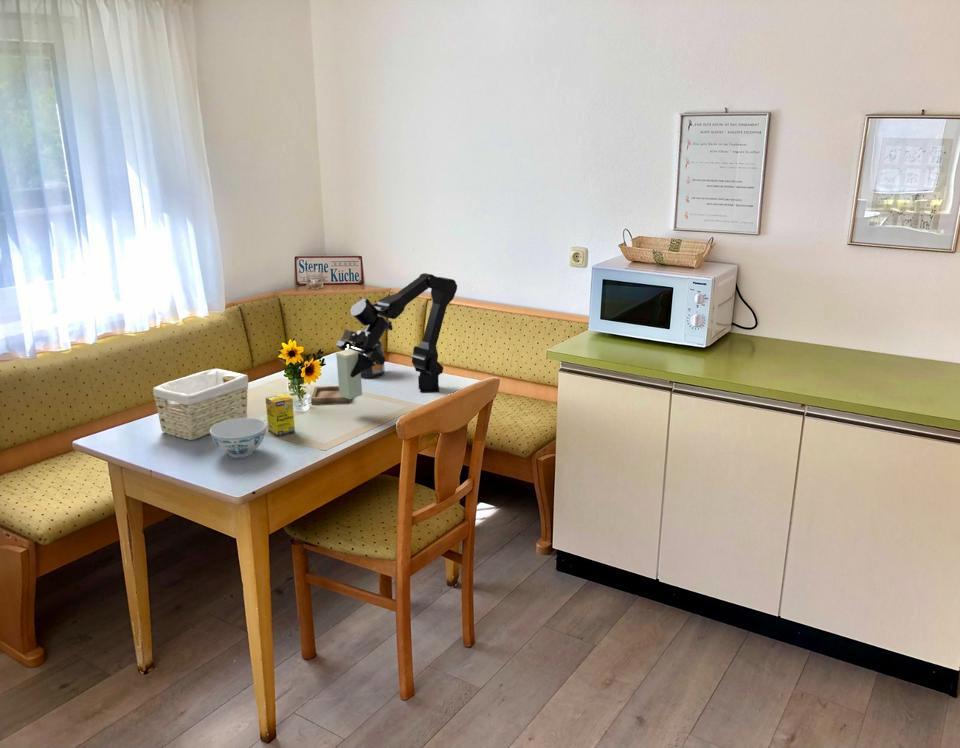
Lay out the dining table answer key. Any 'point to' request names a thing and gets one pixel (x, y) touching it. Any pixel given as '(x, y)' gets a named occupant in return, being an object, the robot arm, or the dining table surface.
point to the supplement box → (280, 414)
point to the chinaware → (238, 435)
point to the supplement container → (377, 369)
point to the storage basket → (200, 402)
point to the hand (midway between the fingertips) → (346, 374)
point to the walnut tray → (327, 395)
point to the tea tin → (348, 374)
